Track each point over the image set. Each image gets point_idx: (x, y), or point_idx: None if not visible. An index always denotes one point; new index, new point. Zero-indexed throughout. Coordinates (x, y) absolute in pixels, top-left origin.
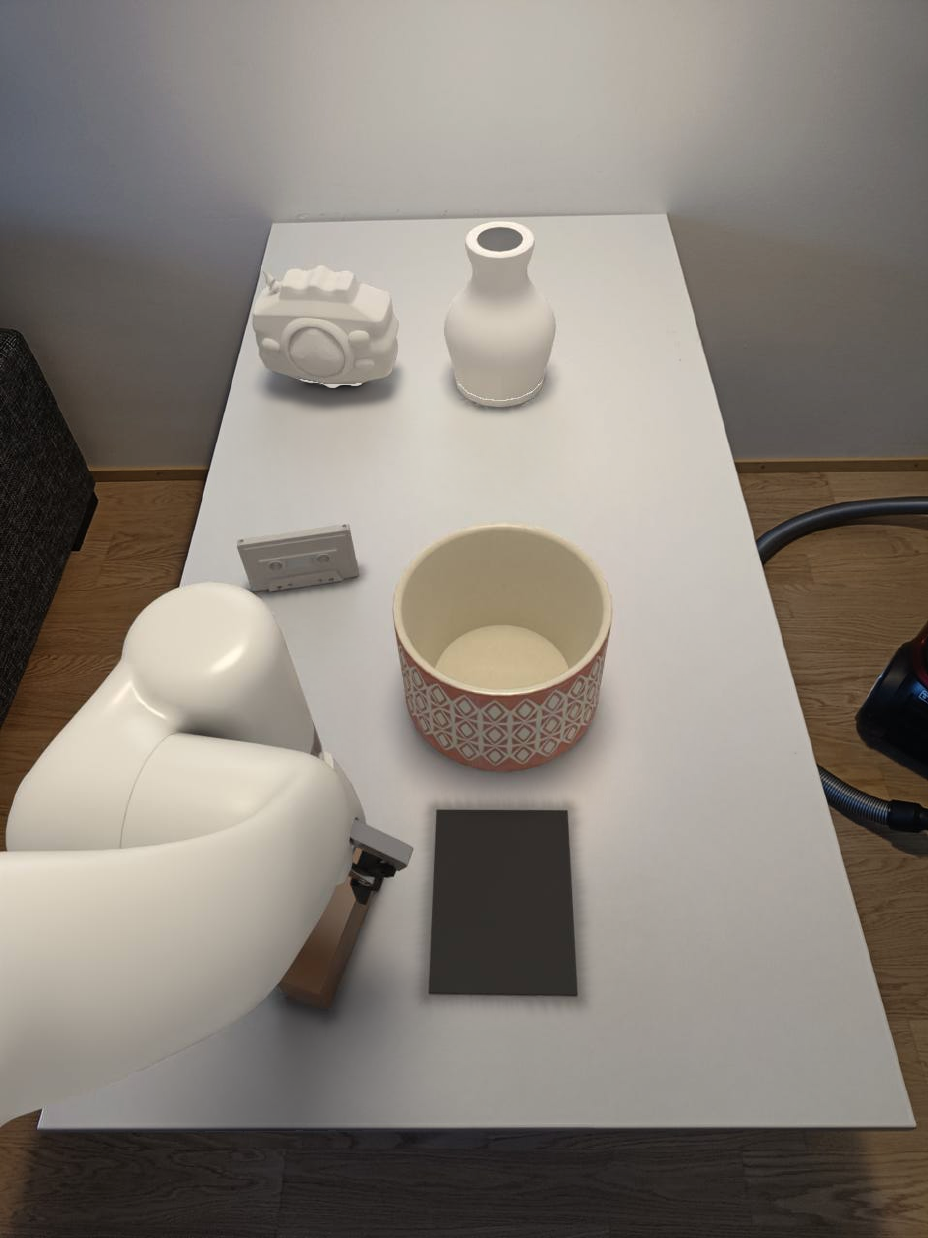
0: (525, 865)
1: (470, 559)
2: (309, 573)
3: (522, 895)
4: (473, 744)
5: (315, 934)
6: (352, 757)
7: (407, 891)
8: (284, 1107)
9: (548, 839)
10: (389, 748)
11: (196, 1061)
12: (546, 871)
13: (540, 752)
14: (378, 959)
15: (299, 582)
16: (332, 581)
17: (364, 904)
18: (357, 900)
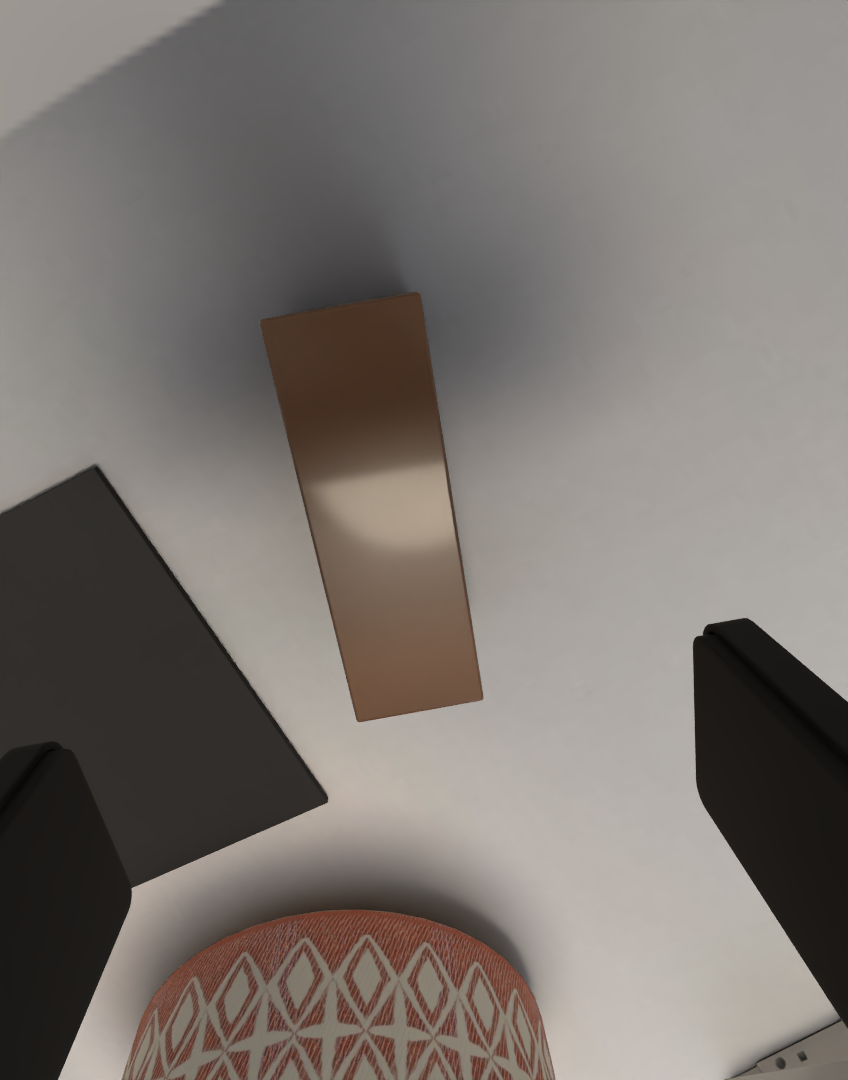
0: None
1: None
2: None
3: (50, 737)
4: (278, 1027)
5: (374, 468)
6: (557, 810)
7: (284, 634)
8: (243, 30)
9: None
10: (493, 855)
11: (532, 18)
12: None
13: (157, 1031)
14: (252, 477)
15: (842, 1040)
16: (775, 1057)
17: (6, 756)
18: (20, 773)
